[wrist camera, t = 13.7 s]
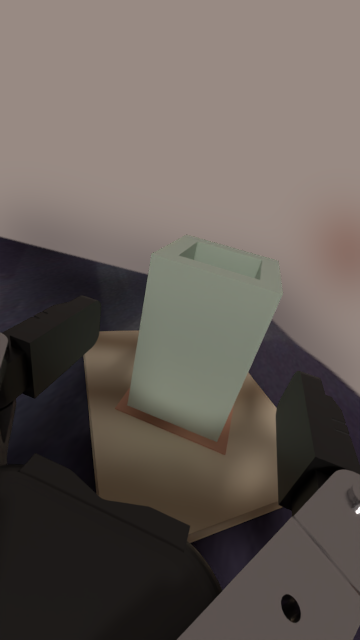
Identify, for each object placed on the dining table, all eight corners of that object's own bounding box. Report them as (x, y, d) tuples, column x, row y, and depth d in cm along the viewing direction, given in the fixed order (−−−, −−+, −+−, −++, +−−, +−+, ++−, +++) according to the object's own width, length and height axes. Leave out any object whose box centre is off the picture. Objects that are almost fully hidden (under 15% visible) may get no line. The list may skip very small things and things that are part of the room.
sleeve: (127, 405, 17) (151, 254, 12) (160, 354, 22) (186, 234, 17) (217, 442, 16) (282, 293, 11) (229, 380, 21) (278, 260, 16)
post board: (82, 343, 23) (84, 285, 20) (210, 337, 28) (225, 291, 26) (104, 575, 11) (116, 508, 8) (323, 491, 16) (376, 432, 13)
